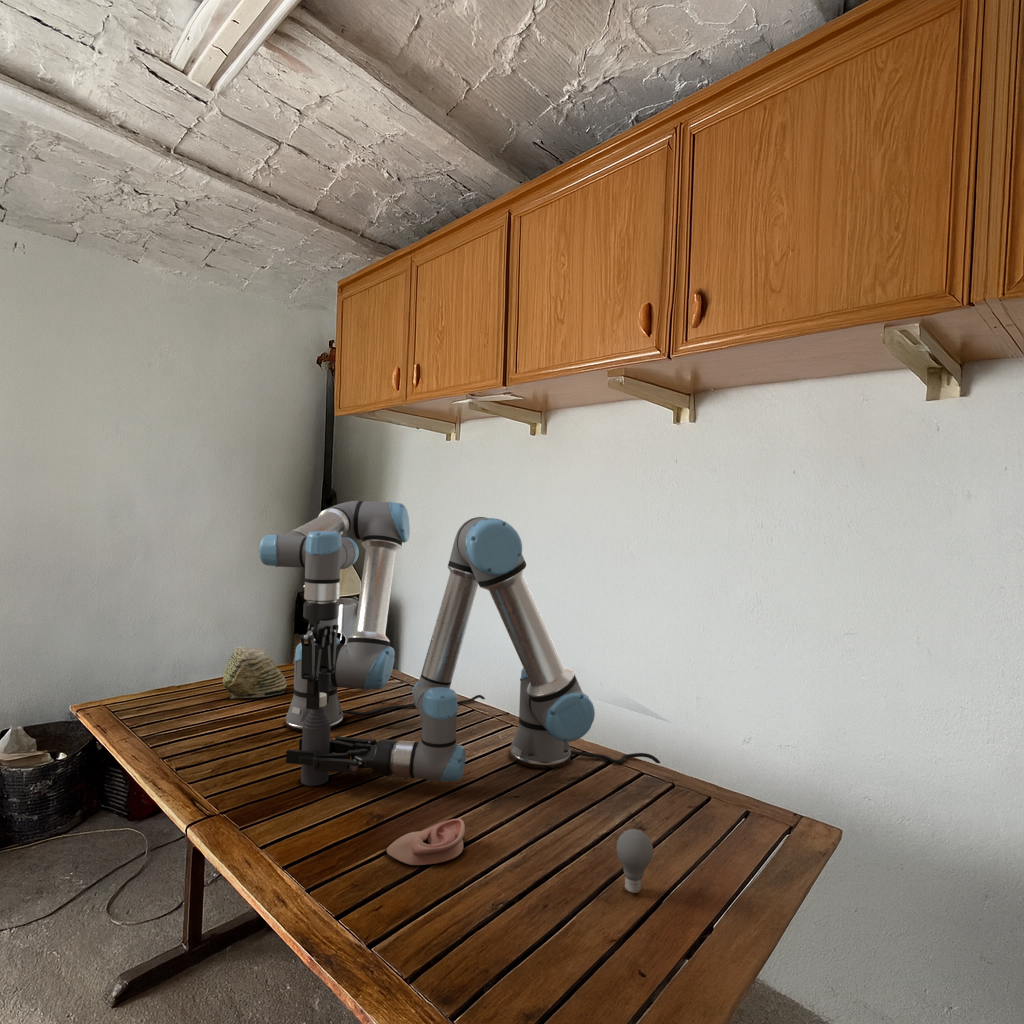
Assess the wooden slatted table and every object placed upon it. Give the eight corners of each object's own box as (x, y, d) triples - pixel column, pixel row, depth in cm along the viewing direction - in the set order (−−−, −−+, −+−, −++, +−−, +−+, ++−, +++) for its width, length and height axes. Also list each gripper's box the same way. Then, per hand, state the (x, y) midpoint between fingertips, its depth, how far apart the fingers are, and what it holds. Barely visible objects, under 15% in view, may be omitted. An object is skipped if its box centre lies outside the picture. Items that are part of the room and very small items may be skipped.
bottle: (333, 776, 144) (336, 694, 143) (319, 787, 138) (322, 702, 137) (310, 772, 145) (313, 691, 145) (295, 783, 139) (298, 699, 139)
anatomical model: (380, 837, 111) (404, 807, 122) (379, 860, 111) (403, 827, 122) (452, 849, 108) (470, 817, 120) (451, 872, 108) (469, 838, 120)
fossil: (218, 695, 195) (220, 647, 195) (278, 685, 208) (279, 640, 207) (228, 703, 189) (230, 653, 188) (289, 692, 201) (290, 645, 201)
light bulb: (610, 879, 108) (613, 822, 108) (644, 879, 109) (647, 822, 109) (619, 902, 102) (622, 840, 102) (655, 901, 103) (658, 840, 103)
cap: (329, 703, 143) (330, 693, 143) (321, 708, 139) (321, 698, 139) (313, 701, 143) (314, 691, 143) (305, 706, 140) (305, 696, 140)
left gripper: (323, 594, 150) (319, 692, 150) (285, 605, 133) (281, 715, 134) (353, 596, 148) (349, 695, 149) (319, 608, 132) (314, 719, 132)
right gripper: (381, 795, 130) (273, 785, 132) (404, 758, 149) (310, 750, 151) (382, 758, 130) (274, 750, 132) (406, 726, 149) (311, 719, 151)
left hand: (317, 705), depth 141 cm, fingers closed on cap, 4 cm apart
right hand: (293, 750), depth 142 cm, fingers closed on bottle, 6 cm apart
